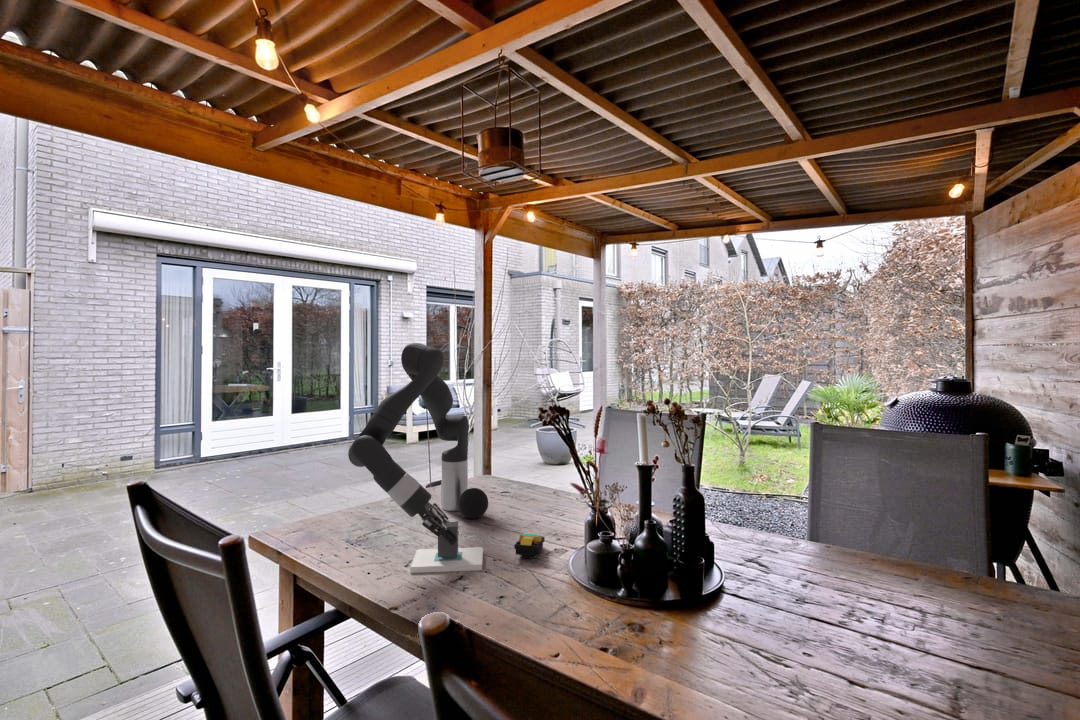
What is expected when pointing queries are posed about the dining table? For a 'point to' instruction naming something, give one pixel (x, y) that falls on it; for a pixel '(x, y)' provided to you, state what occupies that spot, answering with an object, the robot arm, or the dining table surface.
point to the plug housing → (444, 546)
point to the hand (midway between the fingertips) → (455, 538)
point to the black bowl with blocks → (529, 545)
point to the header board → (447, 561)
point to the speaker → (473, 503)
